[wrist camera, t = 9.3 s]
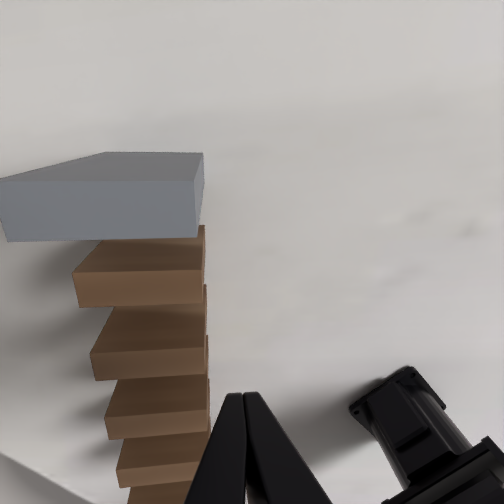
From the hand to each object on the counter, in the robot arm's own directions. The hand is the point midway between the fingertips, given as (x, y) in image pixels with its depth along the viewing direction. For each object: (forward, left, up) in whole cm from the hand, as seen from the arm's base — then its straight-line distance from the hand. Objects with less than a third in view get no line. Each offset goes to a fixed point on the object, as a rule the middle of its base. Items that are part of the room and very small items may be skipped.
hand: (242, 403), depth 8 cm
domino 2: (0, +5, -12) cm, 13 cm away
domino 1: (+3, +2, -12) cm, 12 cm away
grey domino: (+6, 0, -12) cm, 13 cm away
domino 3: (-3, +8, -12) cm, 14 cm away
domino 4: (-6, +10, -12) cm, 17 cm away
